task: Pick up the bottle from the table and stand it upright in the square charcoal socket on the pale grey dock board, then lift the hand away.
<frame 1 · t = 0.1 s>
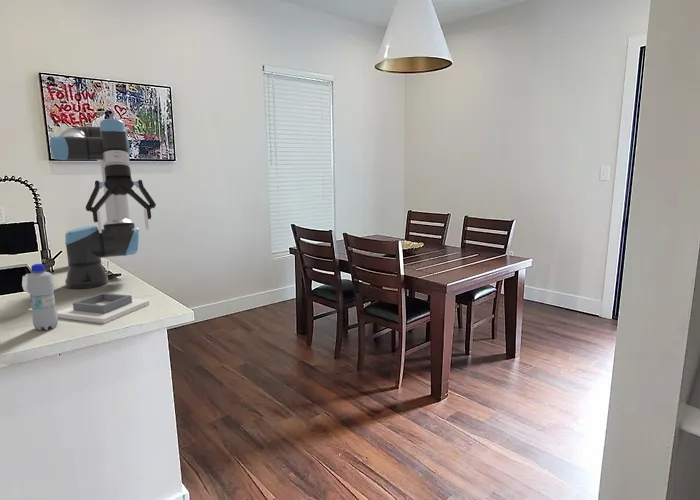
hand: (124, 230, 146), 28 cm above the countertop, tool tilted 20°, fingers open, 13 cm apart
dock: (104, 310, 154), on the countertop
wineglass: (36, 309, 156), on the countertop
bottle: (46, 328, 138), on the countertop
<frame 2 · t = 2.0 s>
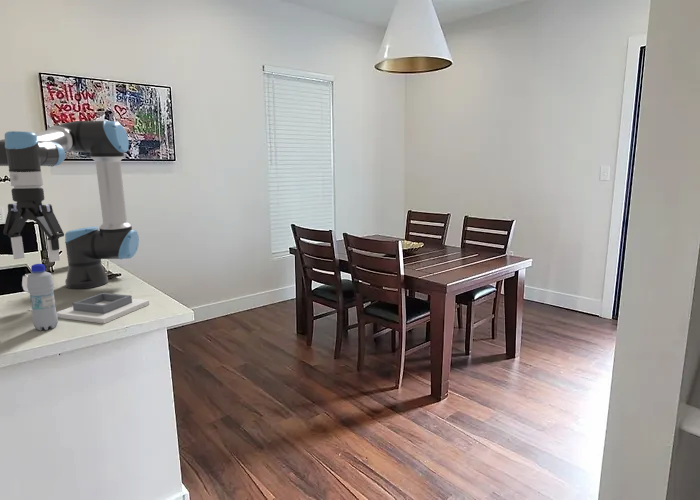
hand: (36, 259, 133), 21 cm above the countertop, tool pointing down, fingers open, 13 cm apart
nothing on the countertop moved.
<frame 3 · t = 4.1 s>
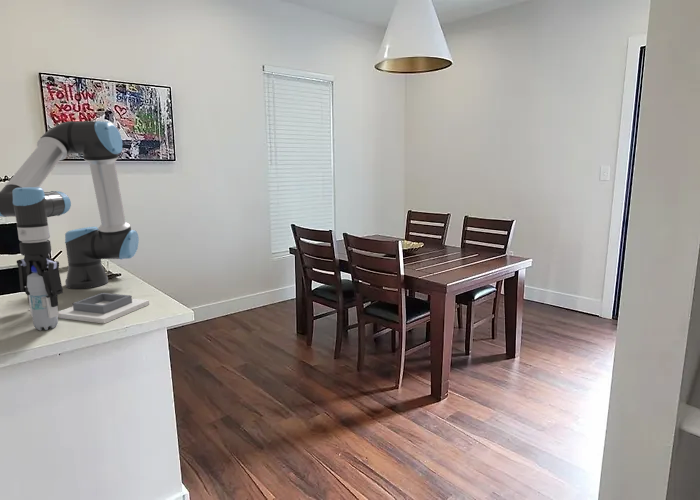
hand: (44, 315, 137), 4 cm above the countertop, tool pointing down, fingers closed on bottle, 6 cm apart
bottle: (46, 328, 138), on the countertop, touching gripper
everything else where it was.
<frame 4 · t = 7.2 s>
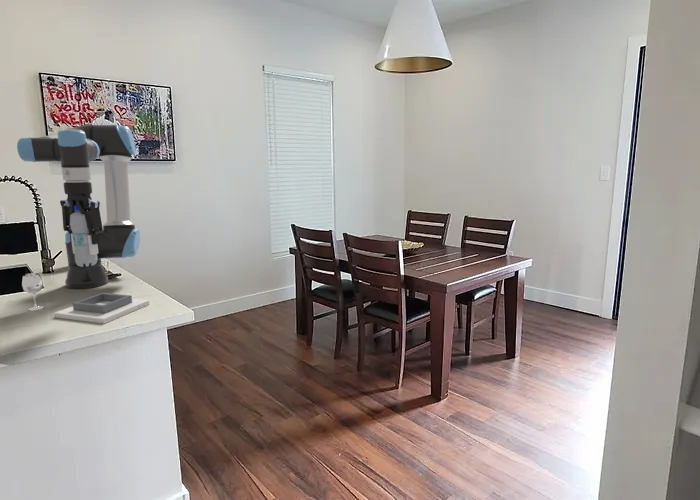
hand: (85, 253, 146), 21 cm above the countertop, tool pointing down, fingers closed on bottle, 6 cm apart
bottle: (87, 265, 147), point 16 cm above the countertop, touching gripper
everything else where it was.
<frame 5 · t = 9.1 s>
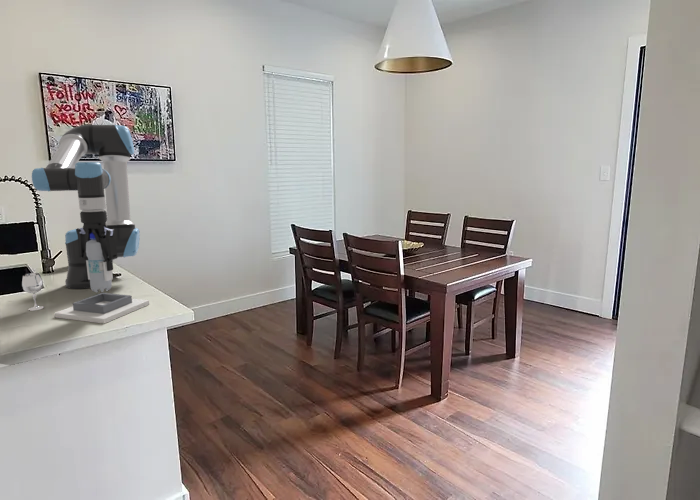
hand: (100, 279, 151), 11 cm above the countertop, tool pointing down, fingers closed on bottle, 6 cm apart
bottle: (101, 291, 152), point 7 cm above the countertop, touching gripper
everything else where it was.
when the fingers open (6 cm above the countertop, at t = 10.3 s): bottle stays where it is, resting on dock.
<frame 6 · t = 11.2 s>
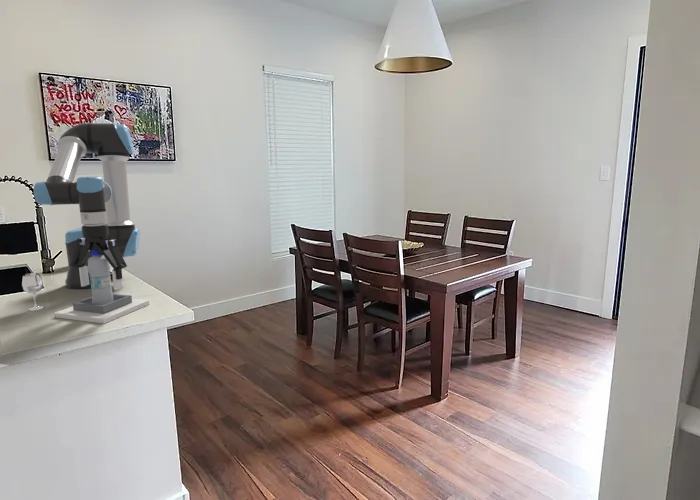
hand: (101, 287, 152), 8 cm above the countertop, tool pointing down, fingers open, 13 cm apart
bottle: (103, 306, 153), point 1 cm above the countertop, touching dock
everything else where it was.
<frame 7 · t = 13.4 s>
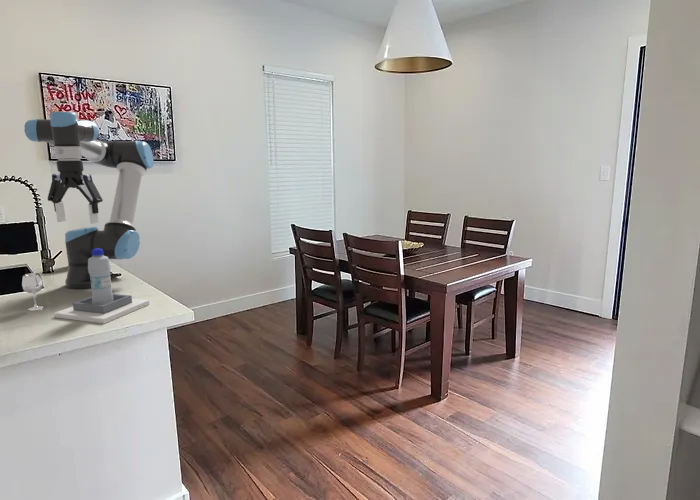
hand: (78, 222, 157), 29 cm above the countertop, tool pointing down, fingers open, 13 cm apart
nothing on the countertop moved.
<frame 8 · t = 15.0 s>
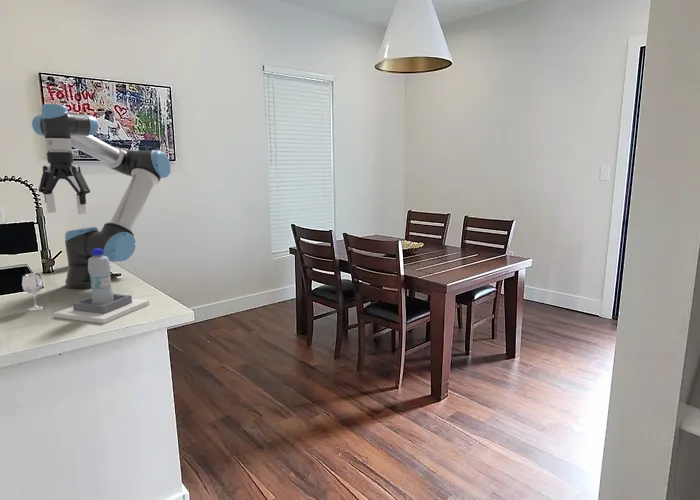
hand: (66, 213, 159), 32 cm above the countertop, tool pointing down, fingers open, 13 cm apart
nothing on the countertop moved.
at the end: bottle 0.0 cm off-centre on the dock, point 1.3 cm above the dock's base; bottle tilted 0°; the gripper is holding nothing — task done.
